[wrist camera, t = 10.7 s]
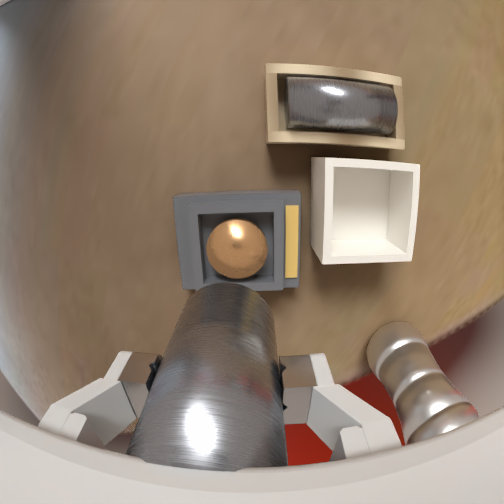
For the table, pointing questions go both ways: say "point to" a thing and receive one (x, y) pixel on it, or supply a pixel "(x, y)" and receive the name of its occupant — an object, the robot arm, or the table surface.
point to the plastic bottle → (416, 383)
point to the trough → (284, 135)
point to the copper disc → (237, 248)
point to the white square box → (363, 210)
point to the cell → (216, 388)
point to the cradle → (248, 207)
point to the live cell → (339, 105)
